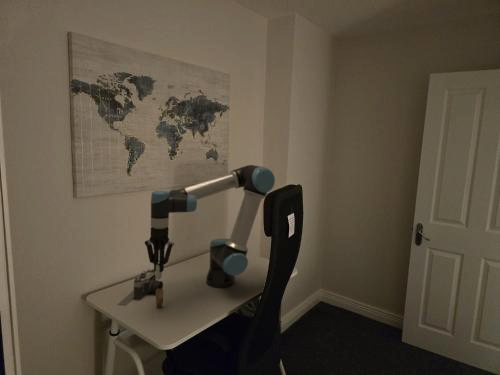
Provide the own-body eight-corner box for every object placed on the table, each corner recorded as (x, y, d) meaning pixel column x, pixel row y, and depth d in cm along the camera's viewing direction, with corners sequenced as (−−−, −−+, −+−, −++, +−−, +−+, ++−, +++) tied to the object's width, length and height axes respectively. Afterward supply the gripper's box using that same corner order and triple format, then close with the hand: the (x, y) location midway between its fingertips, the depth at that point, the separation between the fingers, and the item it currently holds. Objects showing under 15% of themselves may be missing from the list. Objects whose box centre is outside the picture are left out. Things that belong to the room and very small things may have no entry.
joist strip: (143, 288, 164) (143, 288, 164) (125, 305, 147) (125, 305, 147) (136, 288, 164) (136, 287, 164) (117, 304, 148) (117, 304, 148)
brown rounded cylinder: (164, 305, 148) (164, 289, 147) (161, 309, 145) (161, 292, 144) (157, 304, 149) (157, 288, 147) (154, 308, 145) (154, 291, 144)
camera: (151, 302, 151) (151, 281, 150) (131, 299, 153) (131, 278, 152) (167, 287, 166) (167, 268, 165) (149, 285, 168) (148, 266, 167)
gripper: (177, 225, 145) (175, 276, 148) (149, 223, 147) (148, 273, 150) (170, 230, 138) (169, 283, 141) (141, 227, 140) (140, 279, 143)
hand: (158, 278), depth 146 cm, fingers closed
